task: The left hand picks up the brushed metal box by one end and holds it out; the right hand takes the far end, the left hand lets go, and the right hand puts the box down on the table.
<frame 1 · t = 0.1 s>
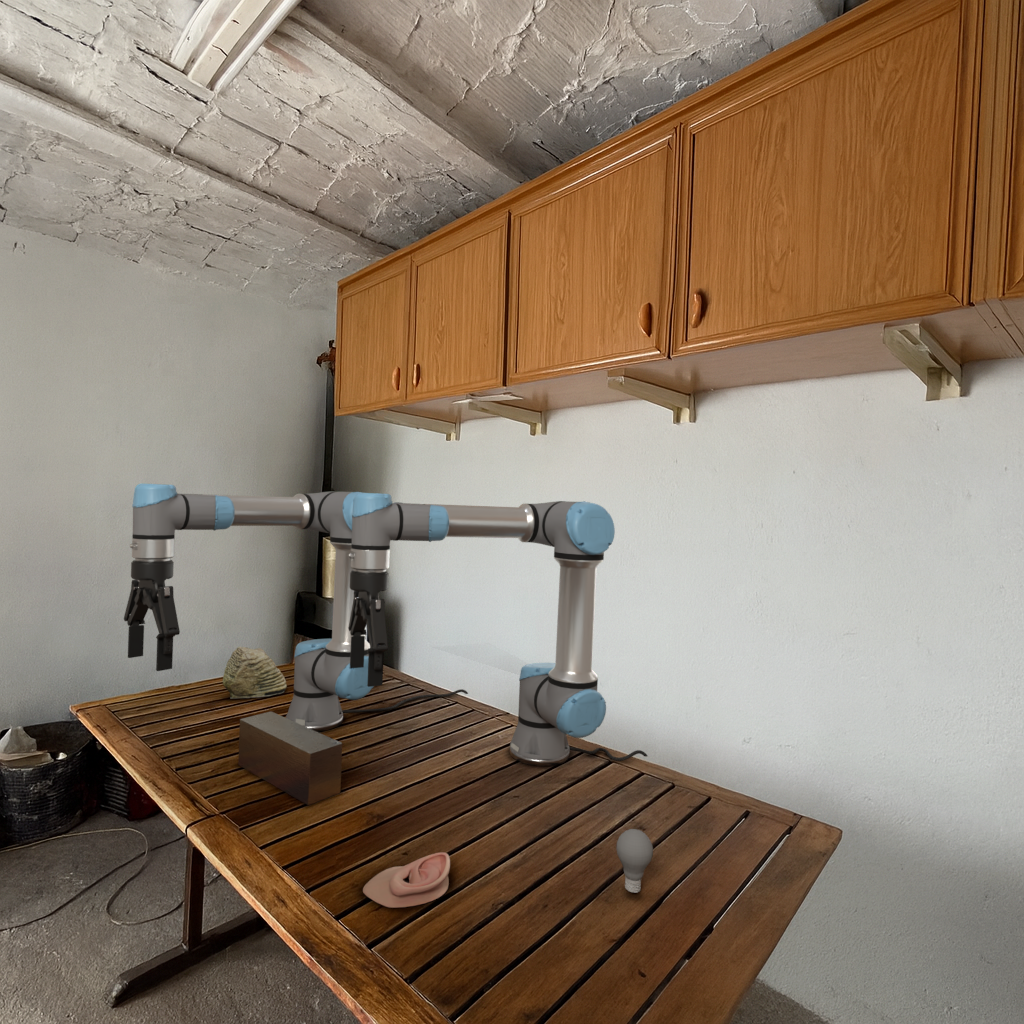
left hand: (149, 663, 129), 28 cm above the table, tool pointing down, fingers open, 13 cm apart
right hand: (365, 676, 127), 28 cm above the table, tool pointing down, fingers open, 13 cm apart
fossil: (254, 694, 198), on the table
light bulb: (632, 891, 106), on the table
anatomical model: (407, 888, 104), on the table
box: (287, 778, 142), on the table
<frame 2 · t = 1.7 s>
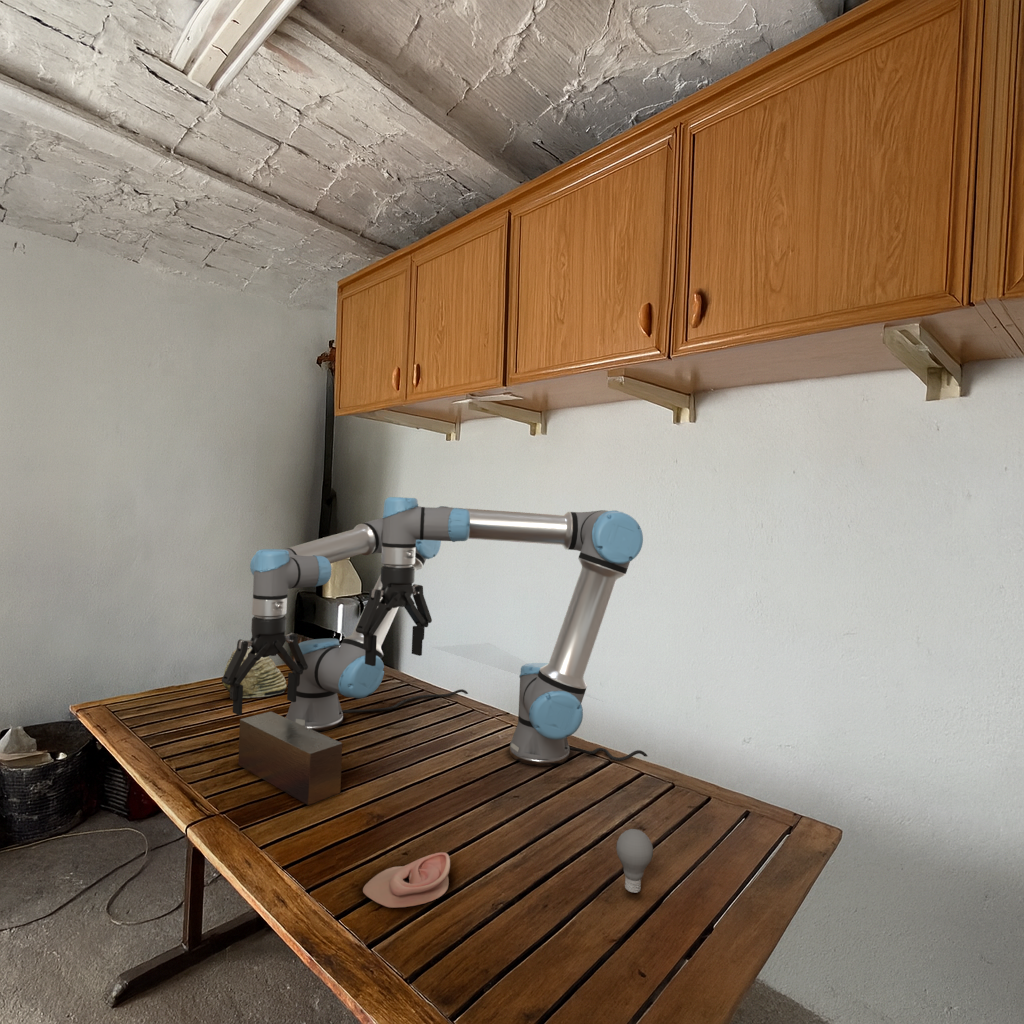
left hand: (265, 707, 147), 14 cm above the table, tool pointing down, fingers open, 13 cm apart
right hand: (394, 659, 143), 27 cm above the table, tool pointing down, fingers open, 13 cm apart
nothing on the table moved.
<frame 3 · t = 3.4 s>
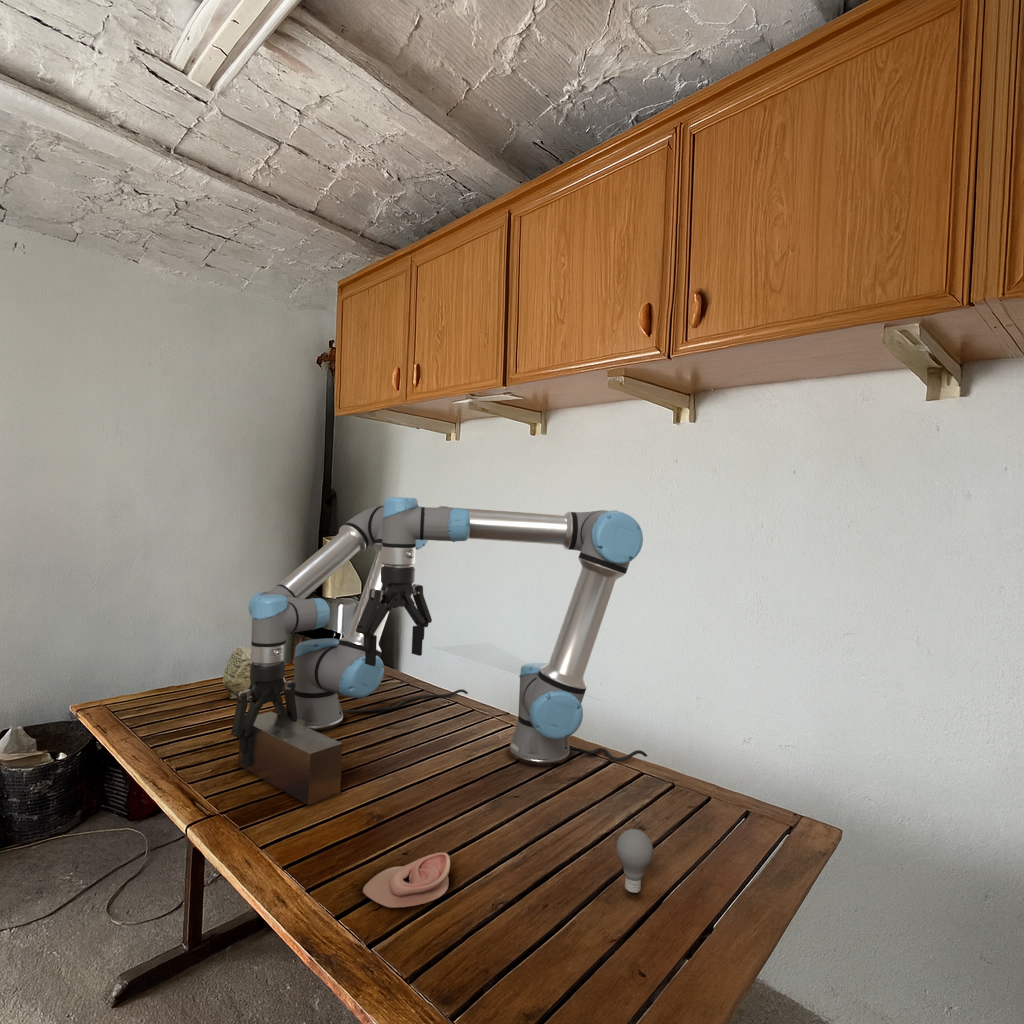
left hand: (264, 758, 148), 2 cm above the table, tool pointing down, fingers closed on box, 8 cm apart
right hand: (394, 659, 143), 27 cm above the table, tool pointing down, fingers open, 13 cm apart
box: (287, 778, 142), on the table, touching left hand
everything else where it was.
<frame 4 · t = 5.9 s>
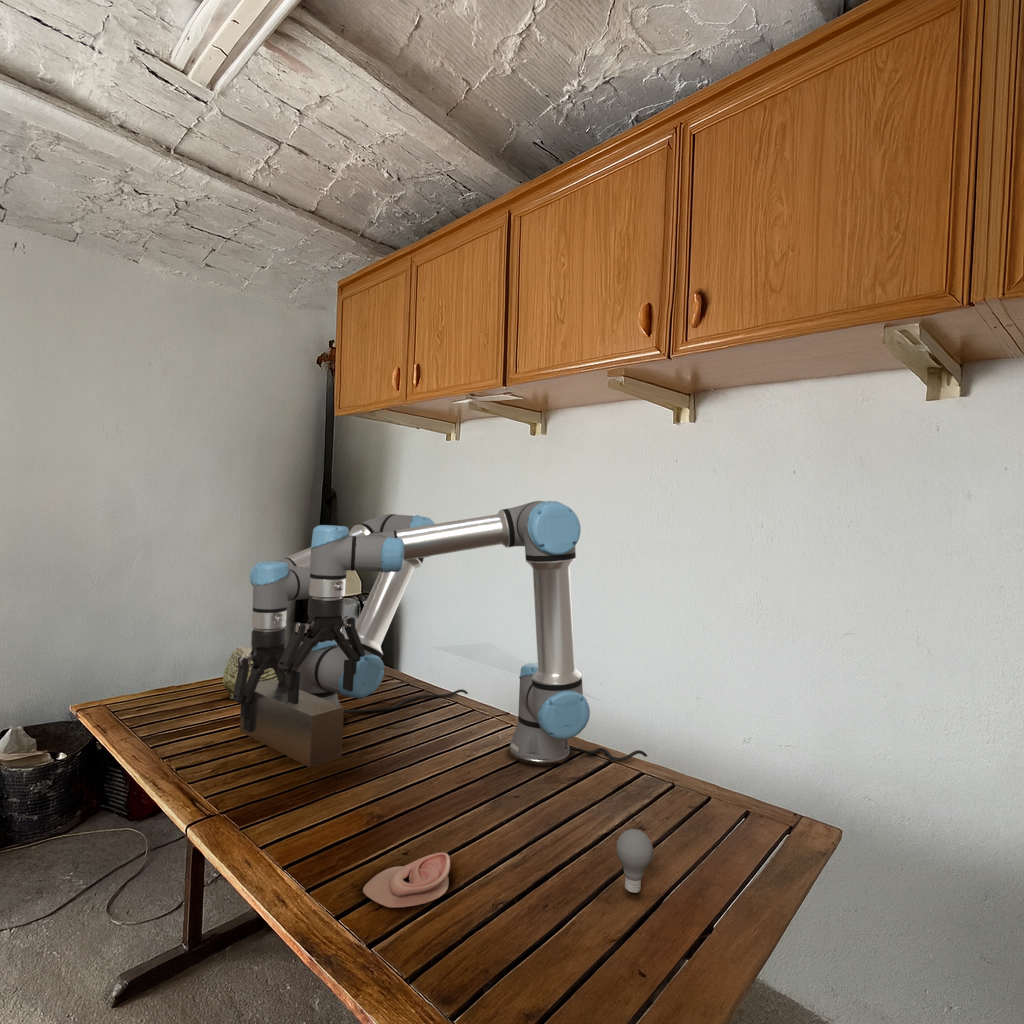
left hand: (265, 725, 148), 9 cm above the table, tool pointing down, fingers closed on box, 8 cm apart
right hand: (321, 696, 136), 21 cm above the table, tool pointing down, fingers open, 13 cm apart
box: (288, 743, 142), point 8 cm above the table, touching left hand
everything else where it was.
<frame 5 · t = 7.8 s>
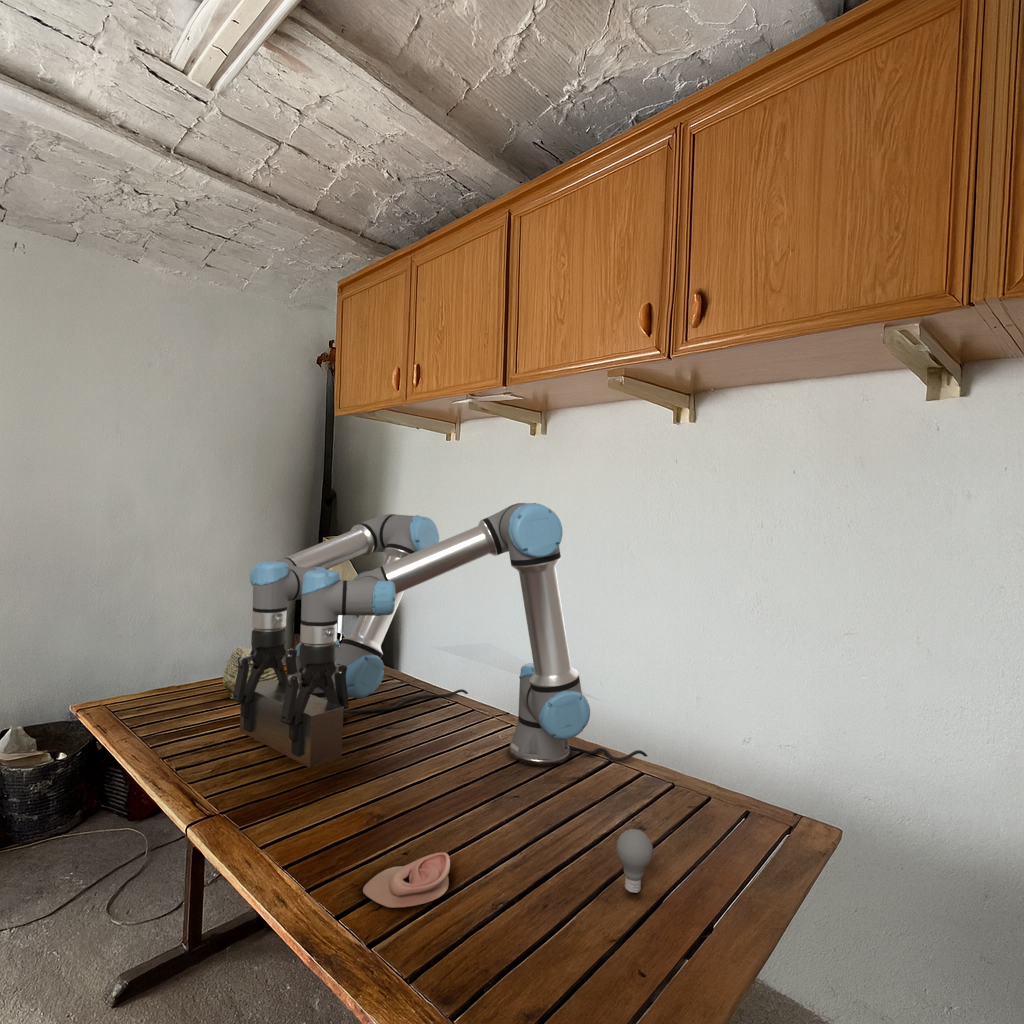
left hand: (265, 725, 148), 9 cm above the table, tool pointing down, fingers closed on box, 8 cm apart
right hand: (314, 748, 135), 9 cm above the table, tool pointing down, fingers closed on box, 8 cm apart
box: (288, 743, 142), point 8 cm above the table, touching left hand, right hand
everything else where it was.
when the left hand's fingers open (9 cm above the table, at t = 8.7 s): box stays where it is, held by the right hand.
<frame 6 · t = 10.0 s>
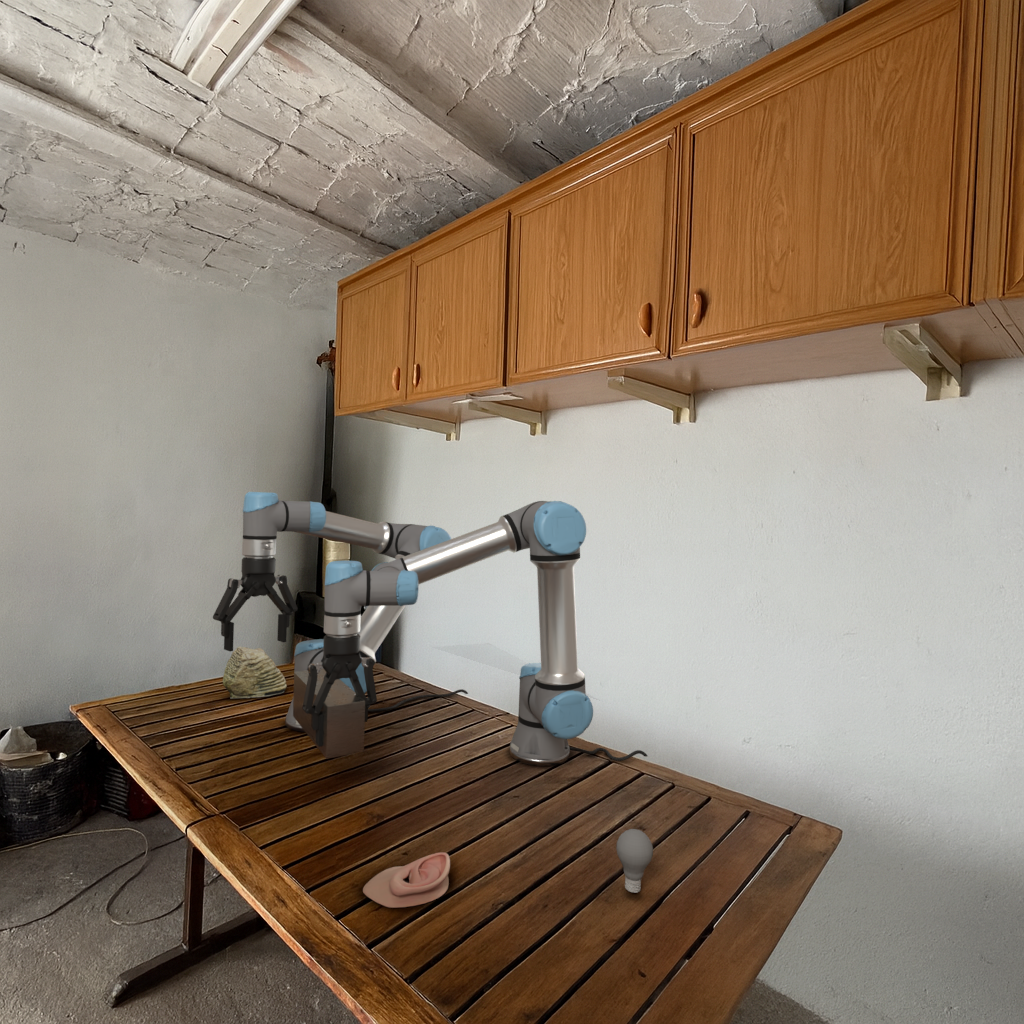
left hand: (256, 645, 151), 27 cm above the table, tool pointing down, fingers open, 13 cm apart
right hand: (339, 740, 135), 12 cm above the table, tool pointing down, fingers closed on box, 8 cm apart
box: (326, 732, 143), point 10 cm above the table, touching right hand
everything else where it was.
when the right hand's fingers open (4 cm above the table, at t = 12.6 s): box drops 2 cm, on the table.
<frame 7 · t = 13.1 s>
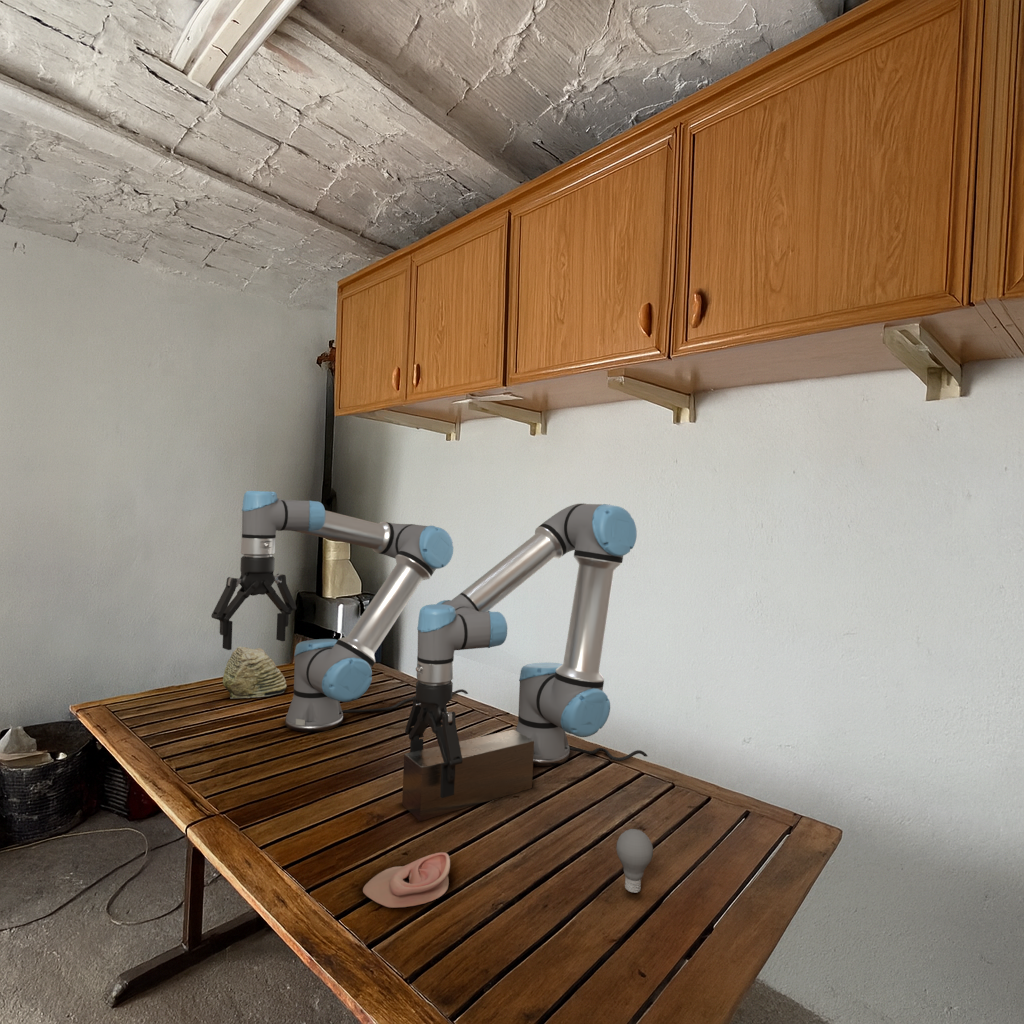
left hand: (254, 644, 151), 27 cm above the table, tool pointing down, fingers open, 13 cm apart
right hand: (430, 782, 131), 5 cm above the table, tool pointing down, fingers open, 13 cm apart
box: (469, 796, 137), on the table
everything else where it was.
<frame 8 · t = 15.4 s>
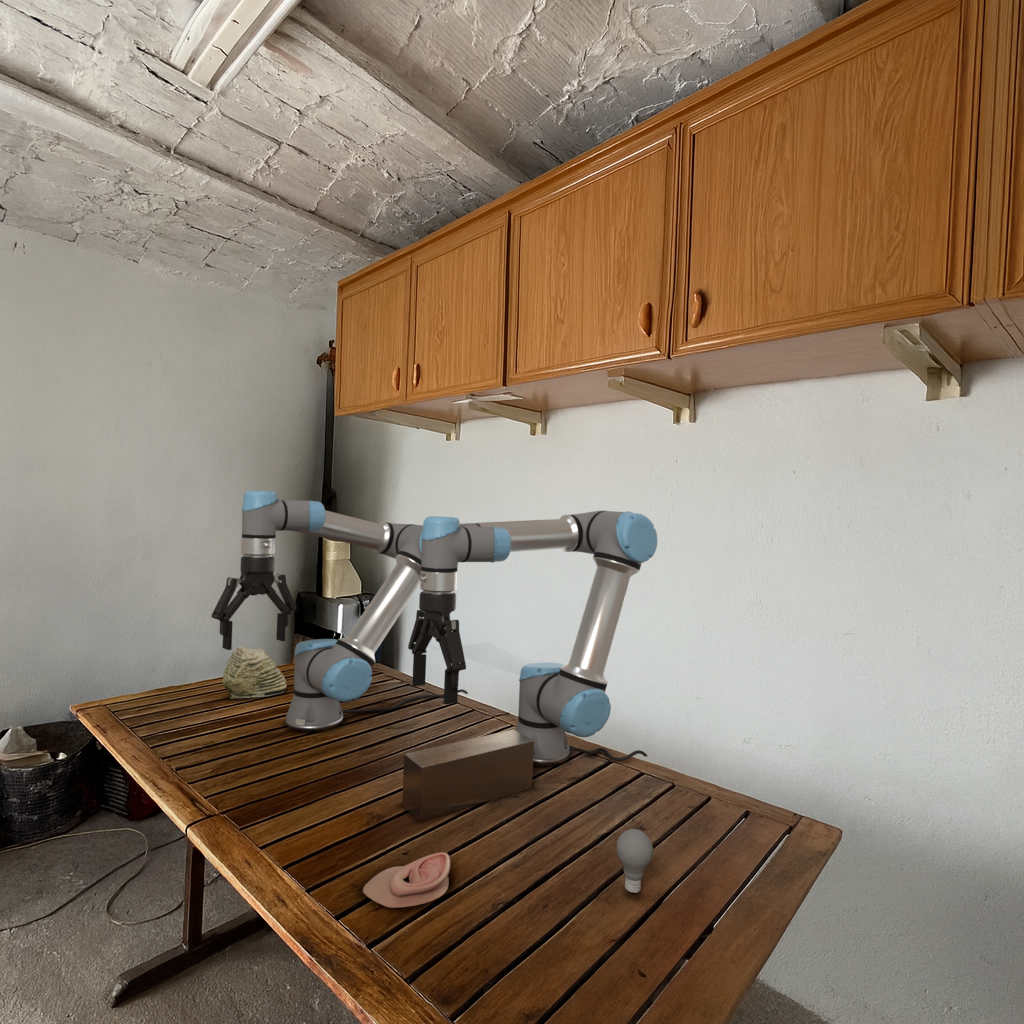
left hand: (254, 644, 151), 27 cm above the table, tool pointing down, fingers open, 13 cm apart
right hand: (433, 694, 131), 24 cm above the table, tool pointing down, fingers open, 13 cm apart
nothing on the table moved.
at the end: box inside the target area (9.8 cm from its centre), on the table; the left hand is holding nothing; the right hand is holding nothing; box at rest at the end (0.0 cm/s) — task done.
